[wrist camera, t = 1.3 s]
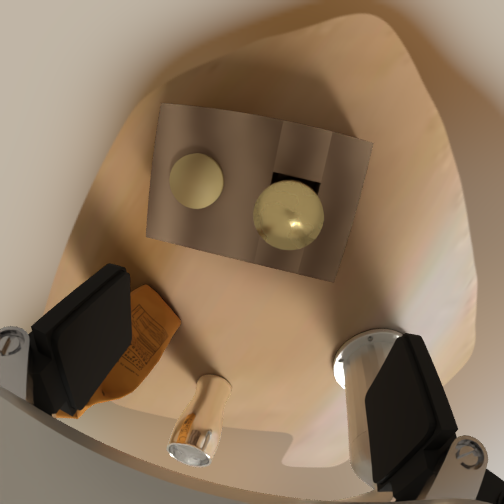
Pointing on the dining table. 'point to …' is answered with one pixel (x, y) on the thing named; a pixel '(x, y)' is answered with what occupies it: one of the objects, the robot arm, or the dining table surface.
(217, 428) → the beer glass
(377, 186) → the dining table surface
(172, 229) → the walnut block
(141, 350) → the coffee package
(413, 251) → the dining table surface
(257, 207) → the brass peg
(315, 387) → the dining table surface
